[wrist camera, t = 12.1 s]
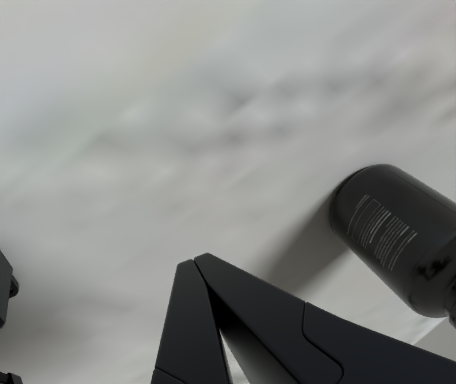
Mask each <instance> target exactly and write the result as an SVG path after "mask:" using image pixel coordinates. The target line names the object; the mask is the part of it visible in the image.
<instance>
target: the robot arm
mask: <svg viewBox="0 0 456 384" xmlns="http://www.w3.org/2000/svg"><path fill="white" fill-rule="evenodd" d="M12 270H13V268H12V266H11V265H10V263H9V262H8V261H7V259H6V258H5V256H4V255H3V254H2V252H1V251H0V329H1V328H3V326H4V324H5V322H6V315H7V308H8V300H9V298H11V297H14V296H15V295H17V293H18V291H19V284H18V282H17V281H16V279H15V278H14V276H13V275H12ZM10 288H12V289H10ZM220 332H221V334H222V336H223V338H224V340H225V342H226V343H227V345H228V347H229V348H230V350H231V352H232V354H233V355H234V357H235V359H236V360H237V362H238V364H239V366H240V367H241V369H242V371H243V372H244V374H245V376H246V377H247V379H248V381H249V383H250V384H456V362H455V361H452V360H450V359H447V358H445V357H442V356H439V355H437V354H434V353H431V352H429V351H426V350H423V349H421V348H418V347H415V346H413V345H410V344H407V343H405V342H402V341H399V340H397V339H394V338H391V337H389V336H386V335H383V334H381V333H378V332H375V331H373V330H370V329H367V328H365V327H362V326H360V325H357V324H355V323H352V322H350V321H347V320H345V319H342V318H340V317H338V316H336V315H333V314H331V313H329V312H327V311H325V310H323V309H321V308H318V307H317V306H315V305H313V304H311V303H309V302H306V303H305V301H303V300H301V299H299V298H297V297H295V296H294V295H292V294H290V293H288V292H286V291H284V290H282V289H280V288H278V287H276V286H274V285H272V284H270V283H268V282H266V281H264V280H262V279H260V278H258V277H256V276H254V275H252V274H250V273H248V272H246V271H244V270H242V269H240V268H238V267H236V266H234V265H232V264H230V263H228V262H226V261H224V260H222V259H220V258H218V257H216V256H214V255H212V254H210V253H205V254H202V255H200V256H197V257H195V258H194V260H192V259H189V260H187V261H184V262H182V263H179V264H178V265H177V269H176V273H175V278H174V282H173V287H172V291H171V296H170V300H169V305H168V309H167V314H166V318H165V323H164V327H163V332H162V337H161V341H160V346H159V350H158V355H157V359H156V364H155V369H154V371H153V375H152V380H151V384H233V380H232V376H231V372H230V368H229V364H228V360H227V356H226V353H225V349H224V345H223V341H222V337H221V334H220ZM0 384H23V383H22V380H21V377H20V376H17V375H15V374H12V373H8V374H5V373H2V372H0Z"/></svg>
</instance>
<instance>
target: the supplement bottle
mask: <svg viewBox="0 0 456 384" xmlns="http://www.w3.org/2000/svg"><path fill="white" fill-rule="evenodd" d="M330 221H331V226H332V229H333V231H334V232H335V234H336V235H337V236H338V237H339V238H340V239H341V240H342V241H343V242H344V243H345V245H346V246H348V247H349V248H350V249H351V250H352V251H353V252H354V253H355V254H356V255H357V256H358V257H359V258H360V259H361V260H362V261H363V262H364V263H365V264H366V265H367V266H368V267H369V268H370V269H371V270H372V271H373V272H374V273H375V274H376V275H377V276H378V277H379V278H380V279H381V280H382V281H383V282H384V283H385V284H386V285H387V286H388V287H389V288H390V289H391V290H392V291H393V292H394V293H395V294H396V295H397V296H398V297H399V298H400V299H401V300H402V301H403V302H404V303H405V304H407V305H408V306H409V307H410V308H411V309H412V310H413V311H415V312H416V313H418V314H420V315H423V316H426V317H431V318H443V317H448V316H449V322H450V324H451V325H452V326H453V327H454V328H455V329H456V203H455V202H453V201H452V200H450V199H449V198H447V197H445V196H444V195H442V194H440V193H439V192H437V191H436V190H434V189H432V188H431V187H429V186H427V185H426V184H424V183H423V182H421V181H419V180H418V179H416V178H415V177H413V176H411V175H410V174H408V173H406V172H404V171H403V170H401V169H399V168H398V167H396V166H393V165H389V164H378V165H373V166H370V167H367V168H365V169H363V170H361V171H360V172H358V173H356V174H355V175H354V176H353V177H351V178H350V179H349V180H348V181H347V182H346V183H345V184H344V185H343V187H342V188H341V189H340V191H339V192H338V194H337V196H336V198H335V200H334V202H333V205H332V208H331V214H330Z"/></svg>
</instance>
